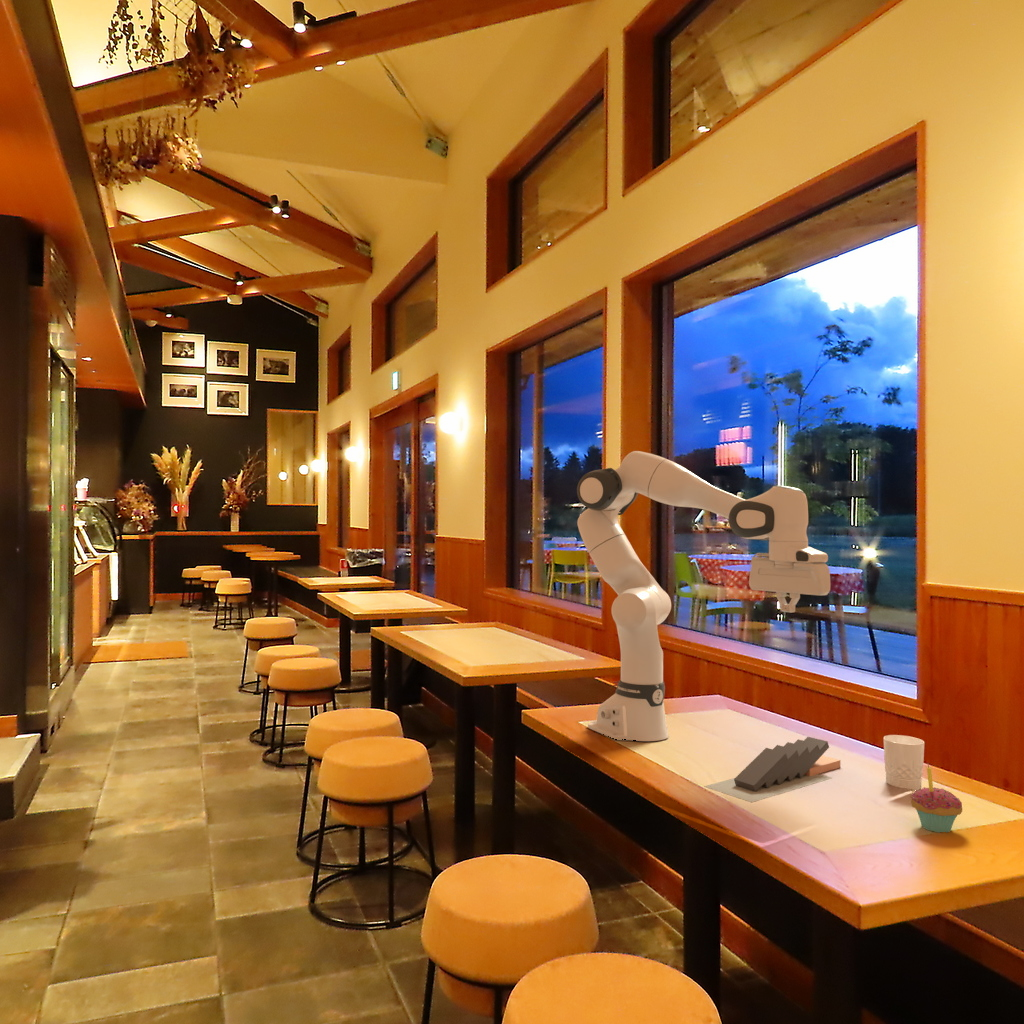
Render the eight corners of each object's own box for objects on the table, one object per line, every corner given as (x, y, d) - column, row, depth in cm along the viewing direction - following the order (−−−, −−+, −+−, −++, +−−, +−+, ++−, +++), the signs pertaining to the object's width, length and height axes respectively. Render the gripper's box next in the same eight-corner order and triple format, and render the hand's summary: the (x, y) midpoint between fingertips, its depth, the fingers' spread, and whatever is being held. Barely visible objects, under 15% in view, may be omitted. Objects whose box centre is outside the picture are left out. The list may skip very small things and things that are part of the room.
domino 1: (733, 779, 171) (766, 747, 177) (735, 785, 171) (767, 753, 178) (753, 785, 167) (786, 753, 173) (755, 792, 167) (787, 759, 174)
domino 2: (745, 776, 173) (777, 744, 180) (747, 782, 173) (778, 751, 180) (765, 782, 169) (797, 750, 176) (767, 788, 169) (798, 756, 176)
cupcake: (939, 839, 144) (939, 771, 144) (899, 823, 152) (899, 758, 152) (972, 832, 148) (973, 766, 148) (932, 817, 156) (932, 754, 156)
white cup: (929, 793, 169) (929, 745, 170) (888, 790, 171) (888, 743, 171) (918, 782, 177) (918, 736, 177) (879, 779, 179) (879, 733, 179)
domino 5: (779, 766, 180) (807, 736, 187) (780, 772, 180) (809, 742, 187) (799, 772, 176) (827, 741, 183) (800, 778, 176) (829, 747, 183)
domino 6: (790, 763, 182) (820, 755, 190) (789, 770, 182) (820, 761, 190) (809, 768, 178) (840, 760, 186) (809, 776, 178) (840, 767, 186)
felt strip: (703, 789, 170) (704, 786, 170) (784, 767, 187) (784, 764, 187) (751, 805, 161) (751, 802, 161) (832, 780, 177) (832, 777, 177)
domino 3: (757, 772, 175) (787, 742, 182) (759, 779, 176) (789, 748, 182) (777, 778, 171) (807, 747, 178) (779, 785, 172) (809, 753, 178)
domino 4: (768, 769, 178) (798, 739, 184) (770, 775, 178) (799, 745, 185) (788, 775, 174) (817, 744, 180) (790, 781, 174) (819, 750, 181)
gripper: (743, 552, 200) (743, 608, 200) (818, 555, 184) (818, 616, 183) (759, 552, 204) (759, 607, 203) (834, 555, 187) (834, 615, 187)
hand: (787, 611), depth 193 cm, fingers closed
